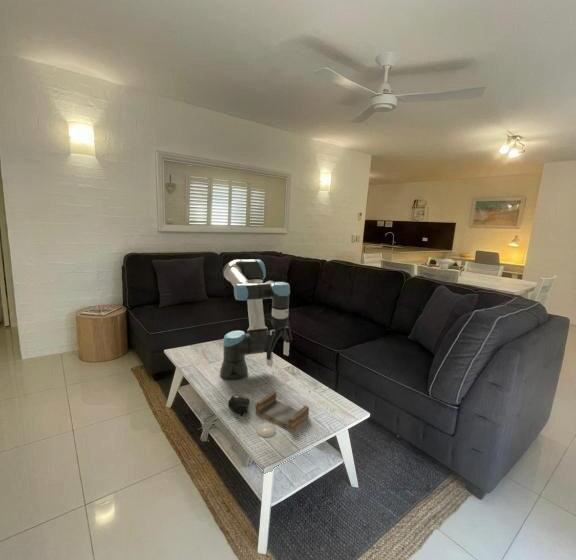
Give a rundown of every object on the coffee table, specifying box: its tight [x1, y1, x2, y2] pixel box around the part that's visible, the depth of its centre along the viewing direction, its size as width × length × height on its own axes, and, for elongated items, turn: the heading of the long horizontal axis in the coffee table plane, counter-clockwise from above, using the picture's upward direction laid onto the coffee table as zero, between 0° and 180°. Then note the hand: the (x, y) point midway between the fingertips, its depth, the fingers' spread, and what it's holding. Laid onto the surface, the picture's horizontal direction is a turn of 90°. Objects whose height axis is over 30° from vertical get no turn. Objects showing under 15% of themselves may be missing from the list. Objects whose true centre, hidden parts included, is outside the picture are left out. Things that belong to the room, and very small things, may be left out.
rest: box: [255, 390, 310, 433], centre depth 136 cm, size 20×12×5 cm, turn 54°
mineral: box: [227, 395, 251, 416], centre depth 138 cm, size 10×9×6 cm
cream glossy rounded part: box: [256, 422, 277, 438], centre depth 126 cm, size 8×8×1 cm
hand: (278, 360), depth 143 cm, fingers open, 13 cm apart
